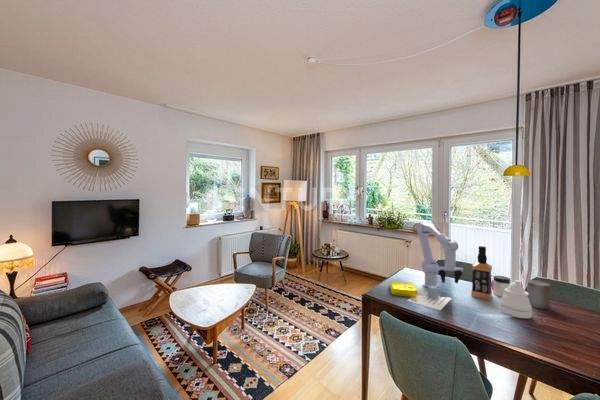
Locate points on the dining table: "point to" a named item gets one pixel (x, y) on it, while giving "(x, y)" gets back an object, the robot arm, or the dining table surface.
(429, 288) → the cube
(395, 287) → the element tile
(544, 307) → the pillar candle
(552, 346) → the dining table surface
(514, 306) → the honey pot
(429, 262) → the robot arm
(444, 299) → the letter
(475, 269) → the whiskey bottle
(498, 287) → the jar
